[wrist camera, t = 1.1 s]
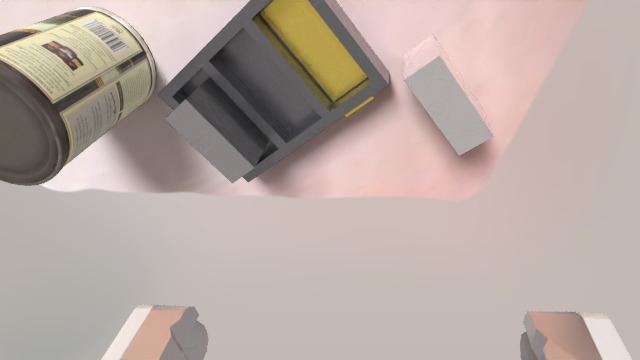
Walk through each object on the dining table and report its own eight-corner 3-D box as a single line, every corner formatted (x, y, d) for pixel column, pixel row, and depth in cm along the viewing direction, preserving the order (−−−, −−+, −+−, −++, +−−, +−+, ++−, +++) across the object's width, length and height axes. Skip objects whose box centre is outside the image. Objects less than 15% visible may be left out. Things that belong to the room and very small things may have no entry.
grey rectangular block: (433, 33, 33) (439, 55, 28) (481, 105, 36) (494, 136, 31) (402, 55, 34) (403, 80, 30) (451, 122, 37) (459, 155, 32)
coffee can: (61, 90, 42) (-65, 160, 31) (51, -11, 36) (-110, 29, 25) (155, 123, 42) (66, 204, 31) (160, 29, 36) (53, 86, 25)
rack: (300, -47, 31) (279, -36, 26) (391, 75, 36) (390, 107, 30) (172, 82, 39) (134, 112, 34) (258, 168, 44) (237, 208, 38)
